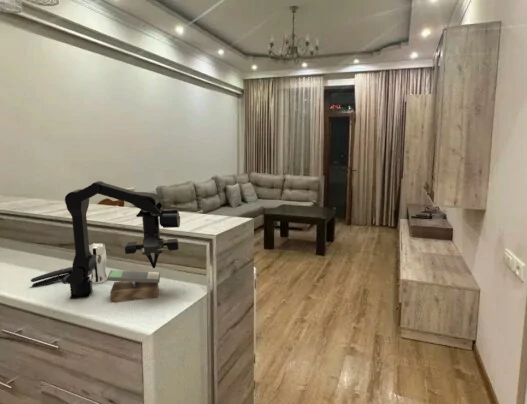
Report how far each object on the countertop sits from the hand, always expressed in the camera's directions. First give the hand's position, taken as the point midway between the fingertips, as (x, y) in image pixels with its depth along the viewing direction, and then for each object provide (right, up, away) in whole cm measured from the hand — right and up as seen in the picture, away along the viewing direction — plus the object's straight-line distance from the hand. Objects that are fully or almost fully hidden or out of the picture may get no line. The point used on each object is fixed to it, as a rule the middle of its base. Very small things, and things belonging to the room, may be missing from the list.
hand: (154, 267), depth 134 cm
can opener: (-43, -8, +11) cm, 45 cm away
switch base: (-7, -10, 0) cm, 12 cm away
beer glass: (-27, -8, +13) cm, 30 cm away
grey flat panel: (-7, -4, -1) cm, 8 cm away
